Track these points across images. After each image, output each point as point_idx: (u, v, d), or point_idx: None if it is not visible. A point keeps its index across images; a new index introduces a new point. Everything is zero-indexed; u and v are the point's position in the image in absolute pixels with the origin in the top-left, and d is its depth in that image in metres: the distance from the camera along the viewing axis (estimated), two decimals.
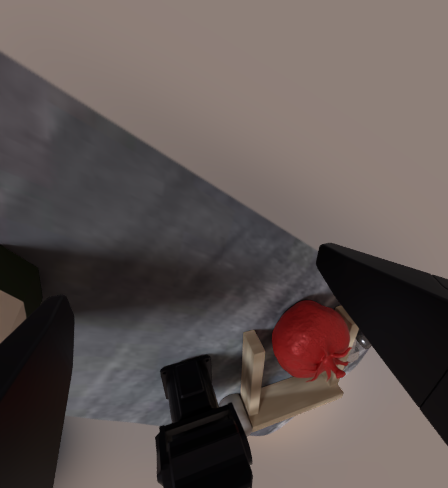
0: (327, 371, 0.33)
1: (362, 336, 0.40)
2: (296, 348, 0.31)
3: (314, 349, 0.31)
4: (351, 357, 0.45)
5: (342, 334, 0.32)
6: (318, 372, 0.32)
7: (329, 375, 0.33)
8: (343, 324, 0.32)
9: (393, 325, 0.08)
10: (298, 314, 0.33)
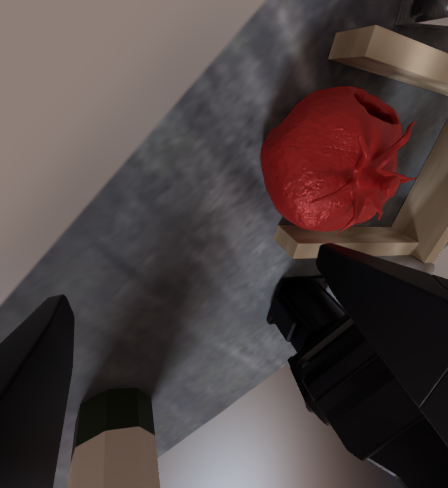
0: None
1: (437, 4, 0.16)
2: (302, 223, 0.18)
3: (320, 201, 0.17)
4: None
5: (333, 130, 0.15)
6: (373, 201, 0.17)
7: (400, 179, 0.17)
8: (320, 114, 0.15)
9: (393, 325, 0.08)
10: (267, 181, 0.19)
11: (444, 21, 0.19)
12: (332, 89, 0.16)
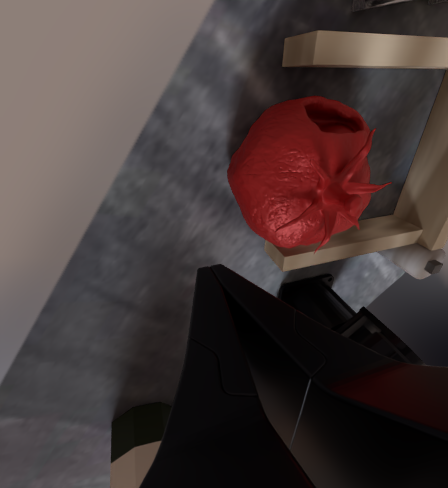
0: (358, 192, 0.16)
1: None
2: (278, 244, 0.18)
3: None
4: None
5: (286, 154, 0.14)
6: (346, 215, 0.16)
7: (371, 188, 0.15)
8: (271, 139, 0.15)
9: (257, 368, 0.07)
10: None
11: None
12: (283, 106, 0.15)
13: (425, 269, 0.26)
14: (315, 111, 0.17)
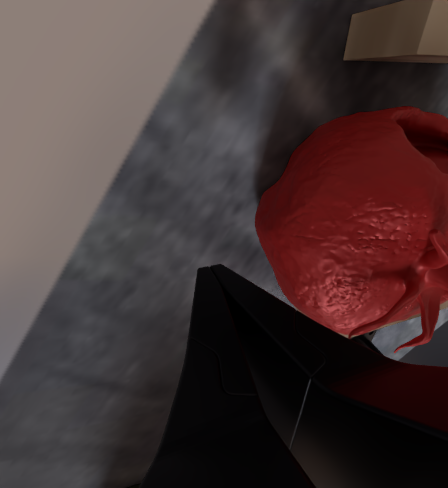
0: None
1: None
2: (334, 330, 0.12)
3: (361, 311, 0.10)
4: None
5: (374, 211, 0.08)
6: None
7: None
8: (345, 184, 0.08)
9: (257, 368, 0.07)
10: (271, 265, 0.13)
11: None
12: (361, 125, 0.09)
13: None
14: None
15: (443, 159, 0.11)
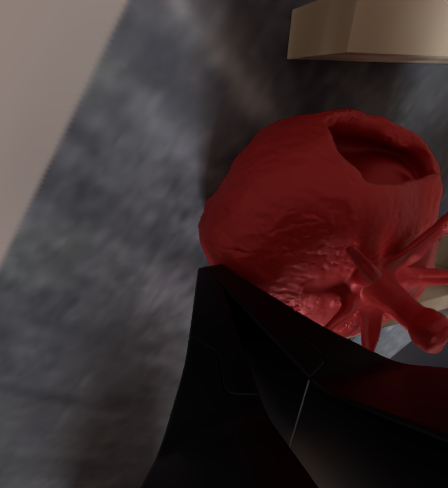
0: (425, 283, 0.09)
1: None
2: None
3: None
4: None
5: (297, 223, 0.08)
6: None
7: None
8: (267, 194, 0.08)
9: (256, 368, 0.07)
10: None
11: None
12: (291, 129, 0.08)
13: None
14: (343, 134, 0.10)
15: (389, 165, 0.10)
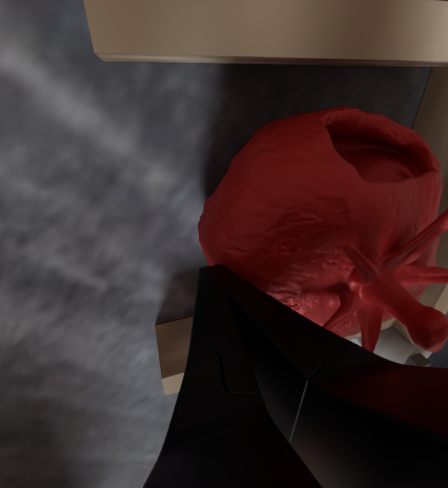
0: (425, 281, 0.09)
1: None
2: None
3: None
4: None
5: (294, 222, 0.08)
6: None
7: None
8: (264, 193, 0.08)
9: (255, 369, 0.07)
10: None
11: None
12: (288, 128, 0.08)
13: None
14: None
15: (389, 163, 0.10)
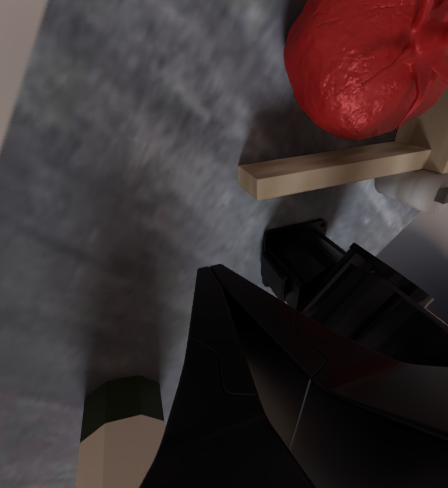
0: None
1: None
2: (350, 126, 0.15)
3: (370, 87, 0.14)
4: None
5: None
6: (440, 70, 0.13)
7: None
8: None
9: (257, 368, 0.07)
10: (298, 89, 0.16)
11: None
12: None
13: (435, 199, 0.22)
14: None
15: None
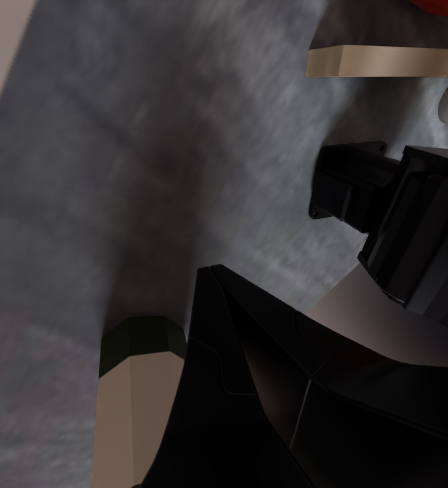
0: None
1: None
2: None
3: None
4: None
5: None
6: None
7: None
8: None
9: (257, 368, 0.07)
10: None
11: None
12: None
13: None
14: None
15: None
